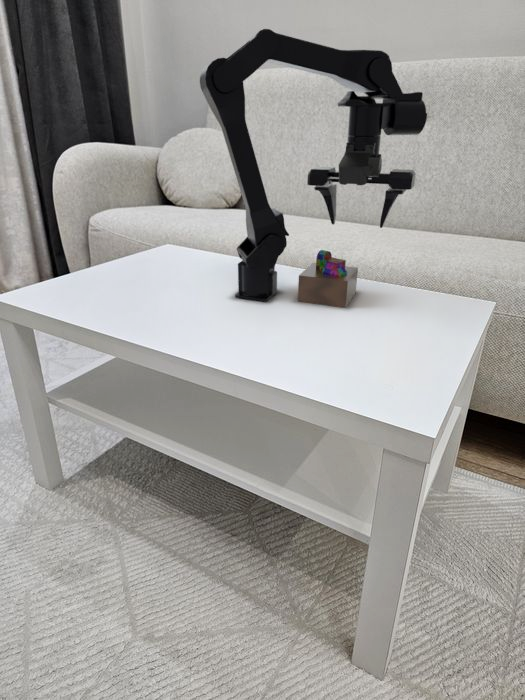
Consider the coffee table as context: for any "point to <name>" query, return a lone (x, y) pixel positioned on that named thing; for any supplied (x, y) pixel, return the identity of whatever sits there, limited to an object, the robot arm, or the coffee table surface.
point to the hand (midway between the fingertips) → (356, 225)
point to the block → (330, 264)
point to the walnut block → (327, 287)
